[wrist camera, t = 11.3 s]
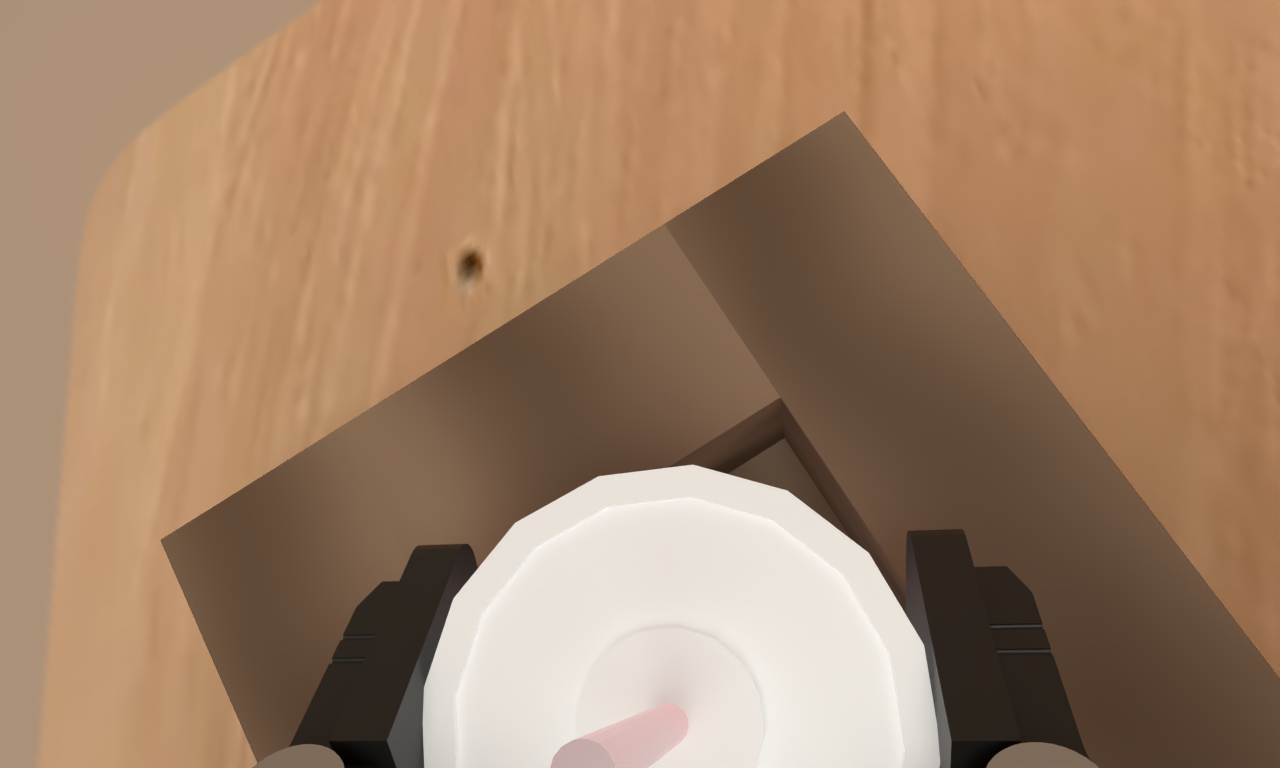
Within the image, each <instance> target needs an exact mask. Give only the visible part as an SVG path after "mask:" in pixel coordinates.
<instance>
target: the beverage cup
mask: <svg viewBox="0 0 1280 768" xmlns="http://www.w3.org/2000/svg"><path fill="white" fill-rule="evenodd" d="M423 747H424V768H939V767H940V753H939V741H938V729H937V721H936V715H935V708H934V702H933V696H932V690H931V684H930V678H929V672H928V666H927V660H926V654H925V648H924V644H923V642H922V641H921V639H920V637H919V636H918V634H917V632H916V631H915V629H914V627H913V626H912V624H911V622H910V621H909V619H908V617H907V616H906V614H905V612H904V611H903V609H902V607H901V606H900V604H899V602H898V601H897V599H896V597H895V596H894V594H893V592H892V591H891V589H890V587H889V586H888V584H887V582H886V581H885V579H884V577H883V576H882V574H881V572H880V571H879V569H878V567H877V566H876V564H875V562H874V561H873V559H872V557H871V556H870V554H869V553H868V552H867V551H866V550H864V549H863V548H862V547H861V546H859V545H858V544H857V543H855V542H854V541H853V540H851V539H850V538H849V537H847V536H846V535H845V534H844V533H842V532H841V531H840V530H838V529H837V528H836V527H834V526H833V525H832V524H830V523H829V522H828V521H827V520H825V519H824V518H823V517H821V516H820V515H819V514H817V513H816V512H815V511H814V510H812V509H811V508H810V507H808V506H807V505H806V504H804V503H803V502H802V501H800V500H799V499H798V498H797V497H795V496H794V495H793V494H791V493H790V492H789V491H787V490H783V489H780V488H776V487H773V486H769V485H765V484H762V483H758V482H754V481H751V480H747V479H743V478H740V477H736V476H733V475H729V474H725V473H722V472H718V471H714V470H711V469H707V468H703V467H700V466H696V465H686V466H678V467H670V468H662V469H654V470H646V471H638V472H629V473H621V474H613V475H605V476H598V477H596V478H594V479H593V480H591V481H589V482H587V483H586V484H584V485H582V486H580V487H578V488H577V489H575V490H573V491H571V492H569V493H568V494H566V495H564V496H562V497H560V498H559V499H557V500H555V501H553V502H552V503H550V504H548V505H546V506H544V507H543V508H541V509H539V510H537V511H535V512H534V513H532V514H530V515H528V516H527V517H525V518H523V519H521V520H519V521H518V522H516V523H515V524H514V525H513V526H512V527H511V529H510V530H509V531H508V532H507V533H506V535H505V536H504V537H503V538H502V540H501V541H500V542H499V543H498V544H497V546H496V547H495V548H494V549H493V551H492V552H491V553H490V554H489V555H488V557H487V558H486V559H485V560H484V562H483V563H482V564H481V565H480V567H479V568H478V569H477V570H476V571H475V573H474V574H473V575H472V576H471V578H470V579H469V580H468V581H467V582H466V584H465V585H464V586H463V587H462V589H461V590H460V591H459V592H458V594H457V595H456V596H455V597H454V598H453V601H452V604H451V607H450V610H449V613H448V616H447V619H446V622H445V625H444V628H443V631H442V634H441V637H440V640H439V643H438V646H437V649H436V652H435V656H434V659H433V662H432V665H431V668H430V671H429V674H428V677H427V680H426V683H425V686H424V700H423Z"/></svg>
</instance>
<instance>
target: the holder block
mask: <svg viewBox="0 0 1280 768" xmlns="http://www.w3.org/2000/svg"><path fill="white" fill-rule="evenodd" d="M686 465H696V466H700V467H703V468H707V469H711V470H714V471H718V472H722V473H725V474H729V475H733V476H736V477H740V478H743V479H747V480H751V481H754V482H758V483H762V484H765V485H769V486H773V487H776V488H780V489H783V490H787V491H789V492H790V493H791V494H793V495H794V496H795V497H797V498H798V499H799V500H800V501H802V502H803V503H804V504H806V505H807V506H808V507H810V508H811V509H812V510H814V511H815V512H816V513H817V514H819V515H820V516H821V517H823V518H824V519H825V520H827V521H828V522H829V523H830V524H832V525H833V526H834V527H836V528H837V529H838V530H840V531H841V532H842V533H844V534H845V535H846V536H847V537H849V538H850V539H851V540H853V541H854V542H855V543H857V544H858V545H859V546H861V547H862V548H863V549H864V550H866V551H867V552H868V553H869V554H870V556H871V557H872V559H873V561H874V562H875V564H876V566H877V567H878V569H879V571H880V572H881V574H882V576H883V577H884V579H885V581H886V582H887V584H888V586H889V587H890V589H891V591H892V592H893V594H894V596H895V597H896V599H897V601H898V602H899V604H900V606H901V607H902V609H903V611H904V612H905V614H906V539H907V532H908V531H914V530H945V529H963V530H964V532H965V535H966V538H967V542H968V546H969V549H970V553H971V557H972V560H973V564H974V567H989V566H1007V567H1008V568H1009V569H1010V570H1011V571H1012V572H1013V573H1014V574H1015V575H1016V576H1017V577H1018V578H1019V579H1020V580H1021V581H1022V582H1023V583H1024V584H1025V585H1026V586H1027V587H1028V588H1029V589H1030V591H1031V592H1032V593H1033V596H1034V599H1035V602H1036V605H1037V608H1038V611H1039V614H1040V617H1041V620H1042V623H1043V624H1042V625H1043V629H1045V632H1046V635H1047V638H1048V641H1049V644H1050V647H1051V654H1053V656H1054V659H1055V662H1056V665H1057V668H1058V671H1059V674H1060V677H1061V680H1062V683H1063V686H1064V689H1065V692H1066V695H1067V698H1068V701H1069V704H1070V707H1071V710H1072V713H1073V716H1074V719H1075V722H1076V725H1077V728H1078V731H1079V734H1080V737H1081V740H1082V743H1083V746H1084V748H1085V750H1086V753H1087V755H1088V757H1089V758H1090V760H1091V761H1092V762H1093V763H1094V764H1096V765H1097V766H1098V767H1099V768H1280V678H1279V677H1278V676H1277V674H1276V673H1275V672H1274V670H1273V669H1272V668H1271V667H1270V665H1269V664H1268V663H1267V661H1266V660H1265V659H1264V657H1263V656H1262V655H1261V654H1260V652H1259V651H1258V650H1257V648H1256V647H1255V646H1254V644H1253V643H1252V642H1251V641H1250V639H1249V638H1248V637H1247V635H1246V634H1245V633H1244V631H1243V630H1242V629H1241V627H1240V626H1239V625H1238V624H1237V622H1236V621H1235V620H1234V618H1233V617H1232V616H1231V614H1230V613H1229V612H1228V611H1227V609H1226V608H1225V607H1224V605H1223V604H1222V603H1221V601H1220V600H1219V599H1218V598H1217V596H1216V595H1215V594H1214V592H1213V591H1212V590H1211V588H1210V587H1209V586H1208V584H1207V583H1206V582H1205V581H1204V579H1203V578H1202V577H1201V575H1200V574H1199V573H1198V571H1197V570H1196V569H1195V568H1194V566H1193V565H1192V564H1191V562H1190V561H1189V560H1188V558H1187V557H1186V556H1185V555H1184V553H1183V552H1182V551H1181V549H1180V548H1179V547H1178V545H1177V544H1176V543H1175V541H1174V540H1173V539H1172V538H1171V536H1170V535H1169V534H1168V532H1167V531H1166V530H1165V528H1164V527H1163V526H1162V525H1161V523H1160V522H1159V521H1158V519H1157V518H1156V517H1155V515H1154V514H1153V513H1152V512H1151V510H1150V509H1149V508H1148V506H1147V505H1146V504H1145V502H1144V501H1143V500H1142V498H1141V497H1140V496H1139V495H1138V493H1137V492H1136V491H1135V489H1134V488H1133V487H1132V485H1131V484H1130V483H1129V482H1128V480H1127V479H1126V478H1125V476H1124V475H1123V474H1122V472H1121V471H1120V470H1119V469H1118V467H1117V466H1116V465H1115V463H1114V462H1113V461H1112V459H1111V458H1110V457H1109V455H1108V454H1107V453H1106V452H1105V450H1104V449H1103V448H1102V446H1101V445H1100V444H1099V442H1098V441H1097V440H1096V439H1095V437H1094V436H1093V435H1092V433H1091V432H1090V431H1089V429H1088V428H1087V427H1086V426H1085V424H1084V423H1083V422H1082V420H1081V419H1080V418H1079V416H1078V415H1077V414H1076V412H1075V411H1074V410H1073V409H1072V407H1071V406H1070V405H1069V403H1068V402H1067V401H1066V399H1065V398H1064V397H1063V396H1062V394H1061V393H1060V392H1059V390H1058V389H1057V388H1056V386H1055V385H1054V384H1053V383H1052V381H1051V380H1050V379H1049V377H1048V376H1047V375H1046V373H1045V372H1044V371H1043V369H1042V368H1041V367H1040V366H1039V364H1038V363H1037V362H1036V360H1035V359H1034V358H1033V356H1032V355H1031V354H1030V353H1029V351H1028V350H1027V349H1026V347H1025V346H1024V345H1023V343H1022V342H1021V341H1020V340H1019V338H1018V337H1017V336H1016V334H1015V333H1014V332H1013V330H1012V329H1011V328H1010V326H1009V325H1008V324H1007V323H1006V321H1005V320H1004V319H1003V317H1002V316H1001V315H1000V313H999V312H998V311H997V310H996V308H995V307H994V306H993V304H992V303H991V302H990V300H989V299H988V298H987V297H986V295H985V294H984V293H983V291H982V290H981V289H980V287H979V286H978V285H977V283H976V282H975V281H974V280H973V278H972V277H971V276H970V274H969V273H968V272H967V270H966V269H965V268H964V267H963V265H962V264H961V263H960V261H959V260H958V259H957V257H956V256H955V255H954V254H953V252H952V251H951V250H950V248H949V247H948V246H947V244H946V243H945V242H944V240H943V239H942V238H941V237H940V235H939V234H938V233H937V231H936V230H935V229H934V227H933V226H932V225H931V224H930V222H929V221H928V220H927V218H926V217H925V216H924V214H923V213H922V212H921V210H920V209H919V208H918V207H917V205H916V204H915V203H914V201H913V200H912V199H911V197H910V196H909V195H908V194H907V192H906V191H905V190H904V188H903V187H902V186H901V184H900V183H899V182H898V181H897V179H896V178H895V177H894V175H893V174H892V173H891V171H890V170H889V169H888V167H887V166H886V165H885V164H884V162H883V161H882V160H881V158H880V157H879V156H878V154H877V153H876V152H875V151H874V149H873V148H872V147H871V145H870V144H869V143H868V141H867V140H866V139H865V138H864V136H863V135H862V134H861V132H860V131H859V130H858V128H857V127H856V126H855V124H854V123H853V122H852V121H851V119H850V118H849V117H848V115H847V114H846V113H845V111H844V112H842V113H841V114H839V115H837V116H836V117H834V118H833V119H831V120H829V121H828V122H826V123H825V124H823V125H822V126H820V127H818V128H817V129H815V130H814V131H812V132H810V133H809V134H807V135H806V136H804V137H802V138H801V139H799V140H798V141H796V142H794V143H793V144H791V145H790V146H788V147H786V148H785V149H783V150H782V151H780V152H778V153H777V154H775V155H774V156H772V157H770V158H769V159H767V160H766V161H764V162H763V163H761V164H759V165H758V166H756V167H755V168H753V169H751V170H750V171H748V172H747V173H745V174H743V175H742V176H740V177H739V178H737V179H735V180H734V181H732V182H731V183H729V184H727V185H726V186H724V187H723V188H721V189H719V190H718V191H716V192H715V193H713V194H711V195H710V196H708V197H707V198H705V199H704V200H702V201H700V202H699V203H697V204H696V205H694V206H692V207H691V208H689V209H688V210H686V211H684V212H683V213H681V214H680V215H678V216H676V217H675V218H673V219H672V220H670V221H668V222H667V223H665V224H664V225H662V226H660V227H659V228H657V229H656V230H654V231H652V232H651V233H649V234H648V235H646V236H645V237H643V238H641V239H640V240H638V241H637V242H635V243H633V244H632V245H630V246H629V247H627V248H625V249H624V250H622V251H621V252H619V253H617V254H616V255H614V256H613V257H611V258H609V259H608V260H606V261H605V262H603V263H601V264H600V265H598V266H597V267H595V268H593V269H592V270H590V271H589V272H587V273H586V274H584V275H582V276H581V277H579V278H578V279H576V280H574V281H573V282H571V283H570V284H568V285H566V286H565V287H563V288H562V289H560V290H558V291H557V292H555V293H554V294H552V295H550V296H549V297H547V298H546V299H544V300H542V301H541V302H539V303H538V304H536V305H534V306H533V307H531V308H530V309H528V310H527V311H525V312H523V313H522V314H520V315H519V316H517V317H515V318H514V319H512V320H511V321H509V322H507V323H506V324H504V325H503V326H501V327H499V328H498V329H496V330H495V331H493V332H491V333H490V334H488V335H487V336H485V337H483V338H482V339H480V340H479V341H477V342H475V343H474V344H472V345H471V346H469V347H468V348H466V349H464V350H463V351H461V352H460V353H458V354H456V355H455V356H453V357H452V358H450V359H448V360H447V361H445V362H444V363H442V364H440V365H439V366H437V367H436V368H434V369H432V370H431V371H429V372H428V373H426V374H424V375H423V376H421V377H420V378H418V379H416V380H415V381H413V382H412V383H410V384H409V385H407V386H405V387H404V388H402V389H401V390H399V391H397V392H396V393H394V394H393V395H391V396H389V397H388V398H386V399H385V400H383V401H381V402H380V403H378V404H377V405H375V406H373V407H372V408H370V409H369V410H367V411H365V412H364V413H362V414H361V415H359V416H358V417H356V418H354V419H353V420H351V421H350V422H348V423H346V424H345V425H343V426H342V427H340V428H338V429H337V430H335V431H334V432H332V433H330V434H329V435H327V436H326V437H324V438H322V439H321V440H319V441H318V442H316V443H314V444H313V445H311V446H310V447H308V448H306V449H305V450H303V451H302V452H300V453H299V454H297V455H295V456H294V457H292V458H291V459H289V460H287V461H286V462H284V463H283V464H281V465H279V466H278V467H276V468H275V469H273V470H271V471H270V472H268V473H267V474H265V475H263V476H262V477H260V478H259V479H257V480H255V481H254V482H252V483H251V484H249V485H247V486H246V487H244V488H243V489H241V490H240V491H238V492H236V493H235V494H233V495H232V496H230V497H228V498H227V499H225V500H224V501H222V502H220V503H219V504H217V505H216V506H214V507H212V508H211V509H209V510H208V511H206V512H204V513H203V514H201V515H200V516H198V517H196V518H195V519H193V520H192V521H190V522H188V523H187V524H185V525H184V526H182V527H181V528H179V529H177V530H176V531H174V532H173V533H171V534H169V535H168V536H166V537H165V538H163V539H161V543H162V545H163V547H164V550H165V552H166V554H167V556H168V559H169V561H170V563H171V566H172V568H173V570H174V572H175V575H176V577H177V579H178V582H179V584H180V586H181V589H182V591H183V593H184V595H185V598H186V600H187V602H188V605H189V607H190V609H191V611H192V614H193V616H194V618H195V621H196V623H197V625H198V627H199V630H200V632H201V634H202V637H203V639H204V641H205V643H206V646H207V648H208V650H209V653H210V655H211V657H212V660H213V662H214V664H215V666H216V669H217V671H218V673H219V676H220V678H221V680H222V682H223V685H224V687H225V689H226V692H227V694H228V696H229V698H230V701H231V703H232V705H233V708H234V710H235V712H236V715H237V717H238V719H239V721H240V724H241V726H242V728H243V731H244V733H245V735H246V737H247V740H248V742H249V744H250V747H251V749H252V751H253V753H254V756H255V758H256V760H257V763H259V762H260V761H262V760H263V759H264V758H266V757H268V756H270V755H271V754H273V753H275V752H277V751H280V750H282V749H285V748H288V747H289V746H290V744H291V742H292V740H293V738H294V736H295V734H296V732H297V730H298V727H299V725H300V723H301V721H302V719H303V717H304V715H305V713H306V711H307V709H308V707H309V705H310V702H311V700H312V698H313V696H314V694H315V692H316V690H317V688H318V686H319V684H320V682H321V680H322V677H323V675H324V673H325V671H326V669H327V667H328V665H329V664H332V657H333V655H334V652H335V650H336V648H337V646H338V644H339V642H340V640H343V634H344V632H345V630H346V627H347V625H348V623H349V621H350V619H351V617H352V615H353V613H354V611H355V609H356V607H357V606H358V605H359V604H360V603H361V602H362V601H363V600H364V599H365V598H366V597H367V596H368V595H369V594H370V593H371V592H372V591H373V590H374V589H375V588H376V587H377V586H378V585H379V584H380V583H381V582H383V581H400V579H401V576H402V574H403V572H404V570H405V567H406V565H407V563H408V561H409V558H410V556H411V554H412V552H413V550H414V549H415V547H417V546H419V545H441V544H469V545H470V546H471V548H472V550H473V552H474V555H475V559H476V563H477V566H478V568H479V567H480V565H481V564H482V563H483V562H484V560H485V559H486V558H487V557H488V555H489V554H490V553H491V552H492V551H493V549H494V548H495V547H496V546H497V544H498V543H499V542H500V541H501V540H502V538H503V537H504V536H505V535H506V533H507V532H508V531H509V530H510V529H511V527H512V526H513V525H514V524H515V523H516V522H518V521H519V520H521V519H523V518H525V517H527V516H528V515H530V514H532V513H534V512H535V511H537V510H539V509H541V508H543V507H544V506H546V505H548V504H550V503H552V502H553V501H555V500H557V499H559V498H560V497H562V496H564V495H566V494H568V493H569V492H571V491H573V490H575V489H577V488H578V487H580V486H582V485H584V484H586V483H587V482H589V481H591V480H593V479H594V478H596V477H598V476H605V475H613V474H621V473H629V472H638V471H646V470H654V469H662V468H670V467H678V466H686Z"/></svg>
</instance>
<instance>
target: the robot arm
mask: <svg viewBox="0 0 1280 768" xmlns="http://www.w3.org/2000/svg"><path fill="white" fill-rule="evenodd" d="M477 569H478V566H477V563H476V559H475V555H474V552H473V550H472V548H471V546H470V545H469V544H441V545H419V546H417V547H415V549H414V550H413V552H412V554H411V556H410V558H409V561H408V563H407V565H406V567H405V570H404V572H403V574H402V576H401V579H400V581H383V582H381V583H380V584H379V585H378V586H377V587H376V588H375V589H374V590H373V591H372V592H371V593H370V594H369V595H368V596H367V597H366V598H365V599H364V600H363V601H362V602H361V603H360V604H359V605H358V606H357V607H356V609H355V611H354V613H353V615H352V617H351V619H350V621H349V623H348V625H347V627H346V630H345V632H344V634H343V640H340V642H339V644H338V646H337V648H336V650H335V652H334V655H333V657H332V664H329V665H328V667H327V669H326V671H325V673H324V675H323V677H322V680H321V682H320V684H319V686H318V688H317V690H316V692H315V694H314V696H313V698H312V700H311V702H310V705H309V707H308V709H307V711H306V713H305V715H304V717H303V719H302V721H301V723H300V725H299V727H298V730H297V732H296V734H295V736H294V738H293V740H292V742H291V744H290V746H289V747H288V748H285V749H282V750H280V751H277V752H275V753H273V754H271V755H270V756H268V757H266V758H264V759H263V760H262V761H260V762H259V763H257V764H256V765H255V766H254V767H253V768H424V747H423V700H424V686H425V683H426V680H427V677H428V674H429V671H430V668H431V665H432V662H433V659H434V656H435V652H436V649H437V646H438V643H439V640H440V637H441V634H442V631H443V628H444V625H445V622H446V619H447V616H448V613H449V610H450V607H451V604H452V601H453V598H454V597H455V596H456V595H457V594H458V592H459V591H460V590H461V589H462V587H463V586H464V585H465V584H466V582H467V581H468V580H469V579H470V578H471V576H472V575H473V574H474V573H475V571H476V570H477ZM906 616H907V617H908V619H909V621H910V622H911V624H912V626H913V627H914V629H915V631H916V632H917V634H918V636H919V637H920V639H921V641H922V642H923V644H924V648H925V654H926V660H927V666H928V672H929V678H930V684H931V690H932V696H933V702H934V708H935V715H936V721H937V729H938V741H939V753H940V767H939V768H1099V767H1098V766H1097V765H1096V764H1094V763H1093V762H1092V761H1091V760H1090V758H1089V757H1088V755H1087V753H1086V750H1085V748H1084V746H1083V743H1082V740H1081V737H1080V734H1079V731H1078V728H1077V725H1076V722H1075V719H1074V716H1073V713H1072V710H1071V707H1070V704H1069V701H1068V698H1067V695H1066V692H1065V689H1064V686H1063V683H1062V680H1061V677H1060V674H1059V671H1058V668H1057V665H1056V662H1055V659H1054V656H1053V654H1051V647H1050V644H1049V641H1048V638H1047V635H1046V632H1045V629H1043V625H1042V624H1043V623H1042V620H1041V617H1040V614H1039V611H1038V608H1037V605H1036V602H1035V599H1034V596H1033V593H1032V592H1031V591H1030V589H1029V588H1028V587H1027V586H1026V585H1025V584H1024V583H1023V582H1022V581H1021V580H1020V579H1019V578H1018V577H1017V576H1016V575H1015V574H1014V573H1013V572H1012V571H1011V570H1010V569H1009V568H1008V567H1007V566H989V567H974V564H973V560H972V557H971V553H970V549H969V546H968V542H967V538H966V535H965V532H964V530H963V529H945V530H914V531H908V532H907V539H906Z"/></svg>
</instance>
